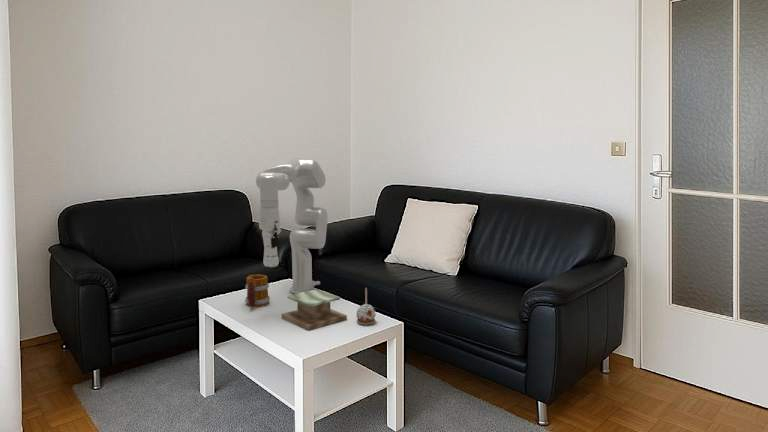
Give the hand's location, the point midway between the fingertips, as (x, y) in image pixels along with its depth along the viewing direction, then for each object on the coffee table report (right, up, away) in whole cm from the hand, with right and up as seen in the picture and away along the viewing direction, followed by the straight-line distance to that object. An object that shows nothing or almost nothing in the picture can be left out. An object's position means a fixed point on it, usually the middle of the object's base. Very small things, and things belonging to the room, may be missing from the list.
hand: (270, 245), depth 257 cm
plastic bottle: (0, -10, +2) cm, 10 cm away
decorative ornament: (+41, -33, -3) cm, 53 cm away
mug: (-10, -29, +19) cm, 36 cm away
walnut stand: (+19, -32, +1) cm, 37 cm away
